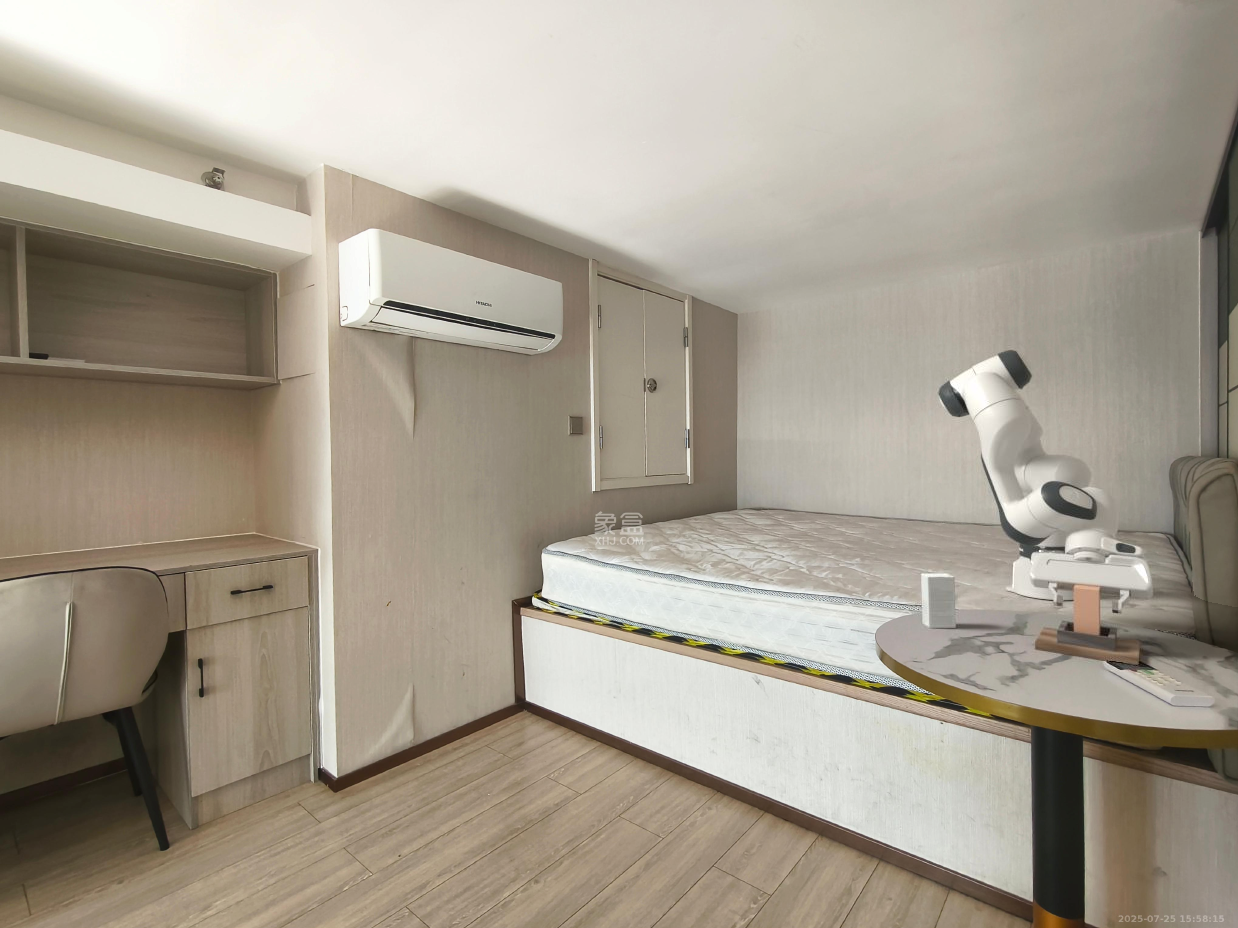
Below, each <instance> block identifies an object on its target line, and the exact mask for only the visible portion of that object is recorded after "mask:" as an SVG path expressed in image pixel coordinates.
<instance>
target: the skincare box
mask: <svg viewBox="0 0 1238 928" xmlns="http://www.w3.org/2000/svg"><path fill="white" fill-rule="evenodd" d="M920 576H921V577H920V578H921V579H920V581H921V583H920V584H921V585H920V587H921V609H922V610H921V612H922V615H921V616H922V625H925V626H926V627H927V628H929V629H955V628H957V626H956V625H957V624H956V622H957V620H956V619H957V618H956V582H955V580H956V579H955V578H956V577H955V576H953V575H951V574H950V573H946V572H944V573H939V572H938V573H932V572H931V573H921V574H920Z"/></svg>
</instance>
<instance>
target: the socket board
mask: <svg viewBox="0 0 1238 928" xmlns="http://www.w3.org/2000/svg"><path fill="white" fill-rule="evenodd" d="M1034 649H1035V650H1039V651H1045V652H1050V653H1056V654H1062V655H1066V656H1067V655H1068V656H1074V657H1080V658H1085V659H1086V658H1088V659H1092V660H1097V661H1103V662H1104V661H1105V662H1109V661H1116V662H1123V663H1132V664H1137V665H1138V664H1139V663H1140V662H1139V661H1140V650H1141V640H1134V639H1127V638H1121V637H1118V628H1117V627H1112V626H1104V625H1100V635H1093V634H1086V633H1079V632H1074V621H1069V620H1068V621H1067V620H1066V621H1065V620H1062V621H1061V622H1060V624H1059V627H1058V628H1052V627H1043V628H1042V630H1041V631H1040V633H1039V635H1038V636H1037V638H1036V640H1035V641H1034ZM1106 660H1108V661H1106ZM1138 666H1139V665H1138Z"/></svg>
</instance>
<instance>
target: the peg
mask: <svg viewBox="0 0 1238 928" xmlns="http://www.w3.org/2000/svg"><path fill="white" fill-rule="evenodd" d="M1073 622H1074V632H1079V633H1086V634H1093V635H1100V626H1101V594H1100V587H1095V586H1085V585H1076V584H1075V586H1074V600H1073Z"/></svg>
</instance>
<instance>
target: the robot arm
mask: <svg viewBox="0 0 1238 928" xmlns="http://www.w3.org/2000/svg"><path fill="white" fill-rule="evenodd" d="M1032 373H1033V372H1032V366H1031V363H1030V362H1029V360H1028V358H1026V357H1025V356H1024V355H1023V354H1022V353H1019V352H1018V351H1016V350H1014V349H1013V350H1012V349H1007V350H1005V351H1001V352H999V353H997V355H994V356H992V357H990V358H987V359H984V360H983V361H981V362H978V363H977V364H974V365H973V366H971V368H969V369H967V370H965V371H963V372H961V373H960V374H959V375H957V376H955V377H954V378H952V379H951V380H948V381H946V382H945V383H944V384H942V385H941V386H940V387H939V390H938V393H937V394H938V399H939V403H940V405H941V408H943V410H944V411H945V412H947V413H948V414H950V415H951V416H952V417H956V418H961V417H962V418H963V417H966V416H970V418H971V419H972V422H973V423H974V425H975V428H976V430H977V433H978V437H979V440H980V441H979V442H980V460H981V464H982V466H983V470H984V473H985V476H986V478H987V482H988V484H989V486H990V489H991V492H992V494H993V498H994V500H995V502H996V505H997V508H998V513H999V520H1000V525H1001V528H1002V529H1003V532H1004V534H1006V536H1007V537H1008V538H1009V539H1010V540H1013V541H1014V542H1016V543H1018V544H1019V547H1018V550H1019V558H1018V559H1016V560H1015V561H1013V564H1012V565H1013V567H1012V583H1011V584H1009V585H1006V586H1005V591H1008V592H1012V593H1015V594H1018V595H1019V596H1020V595H1021V596H1024V597H1029V598H1034V599H1042V600H1052V601H1053V605H1054V607H1063V606H1064V601H1074V586H1075V584H1076V585H1085V586H1095V587H1100V596H1101V595H1103V596H1113V597H1119V600H1117V601H1114V600H1113V601H1112V603H1111V612H1112V614H1118V615H1122V614H1123V608H1124V607H1125V606H1126V605H1127V604H1128V603H1129V602H1130V599H1131V598H1132V599H1140V600H1148V599H1151V598H1152V597H1153V596H1154V584H1153V576H1152V571H1151V568H1150V566H1149V565H1150V564H1148V562H1147V561H1146V558H1145V553H1144V549H1143V548H1142V547H1140V546H1138V545H1134V544H1130V543H1126V542H1123V541H1119V540H1117V537H1116V535H1117V533H1118V531H1119V528H1118V527H1119V513H1118V512H1119V511H1118V507H1117V504H1116V502H1115V499H1114V497H1113V495H1111V494H1110V493H1109V492H1108V491H1106V490H1104V489H1100V488H1099V487H1093V486H1090V483H1091V481H1092V472H1091V468H1090V467H1089V465H1088V464H1087V463H1086V462H1085V461H1084V460H1082V459H1080V458H1077V457H1074V456H1069V455H1067V454H1048V453H1047V452H1046V451H1045V450H1044V448H1043V445H1042V442H1041V438H1042V436H1043V433H1044V432H1043V428H1042V426H1041V424H1040V423H1039V421H1038V419H1037V418H1036V416H1035V415H1034V413H1033V412H1032V410H1031V409H1030V407H1029V405H1028V404H1027V403H1026V402H1025V399H1024V398H1022V396H1021V394H1019V392H1017V390H1018V389H1019V390H1023V389H1024V387H1025V386H1027V385H1028V384H1029V383H1030V382H1031V380H1032V378H1033V374H1032ZM1024 493H1029V494H1027V496H1024V495H1025V494H1024Z"/></svg>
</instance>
